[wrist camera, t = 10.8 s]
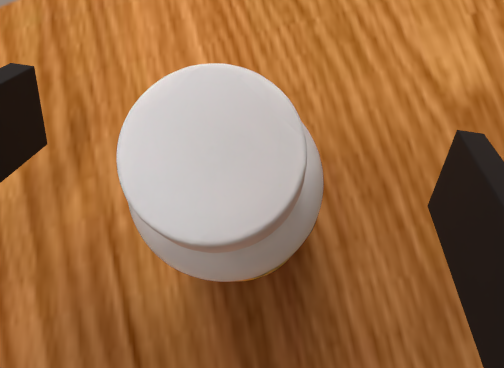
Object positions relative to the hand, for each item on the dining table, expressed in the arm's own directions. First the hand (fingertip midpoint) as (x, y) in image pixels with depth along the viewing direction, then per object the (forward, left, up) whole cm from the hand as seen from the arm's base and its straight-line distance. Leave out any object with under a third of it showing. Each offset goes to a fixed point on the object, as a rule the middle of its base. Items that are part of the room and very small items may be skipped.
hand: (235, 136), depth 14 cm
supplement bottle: (+1, +2, -5) cm, 6 cm away
